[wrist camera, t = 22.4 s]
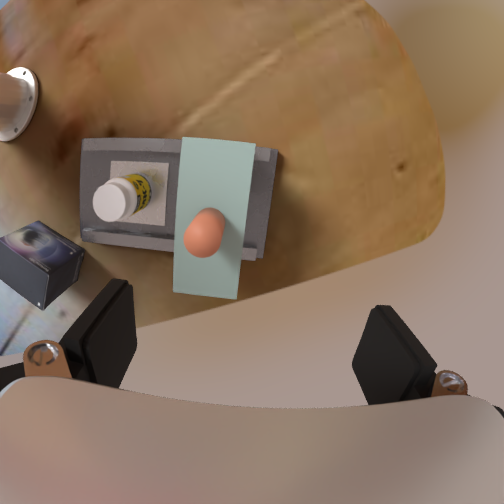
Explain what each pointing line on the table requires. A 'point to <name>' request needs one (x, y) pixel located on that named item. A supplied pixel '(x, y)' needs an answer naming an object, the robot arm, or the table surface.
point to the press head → (211, 215)
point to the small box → (39, 263)
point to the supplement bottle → (122, 197)
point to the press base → (161, 193)
